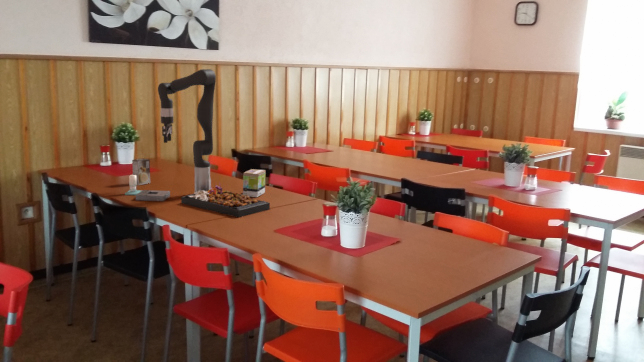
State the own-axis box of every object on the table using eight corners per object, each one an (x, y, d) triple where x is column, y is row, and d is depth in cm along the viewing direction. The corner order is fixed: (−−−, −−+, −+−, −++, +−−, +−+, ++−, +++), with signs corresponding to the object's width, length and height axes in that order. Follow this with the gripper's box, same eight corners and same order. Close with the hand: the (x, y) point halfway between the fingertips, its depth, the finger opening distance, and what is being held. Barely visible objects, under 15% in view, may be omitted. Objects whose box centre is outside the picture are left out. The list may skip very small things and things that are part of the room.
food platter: (181, 204, 325) (181, 186, 323) (213, 197, 345) (213, 180, 343) (238, 218, 299) (238, 199, 297) (269, 210, 319) (269, 192, 317)
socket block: (170, 195, 343) (169, 190, 342) (163, 201, 329) (163, 196, 328) (143, 194, 343) (143, 190, 342) (135, 200, 329) (135, 195, 328)
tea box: (258, 197, 346) (258, 173, 343) (242, 196, 348) (242, 172, 345) (265, 192, 361) (265, 169, 358) (250, 191, 363) (250, 168, 360)
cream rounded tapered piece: (131, 190, 348) (131, 174, 346) (138, 191, 347) (137, 175, 345) (128, 192, 344) (127, 175, 342) (134, 192, 343) (134, 176, 341)
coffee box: (144, 182, 379) (144, 158, 376) (150, 183, 376) (150, 159, 373) (132, 184, 372) (132, 159, 369) (138, 185, 368) (138, 160, 365)
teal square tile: (144, 192, 350) (144, 190, 350) (140, 195, 341) (139, 193, 341) (129, 191, 350) (129, 190, 350) (124, 194, 341) (124, 193, 341)
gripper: (164, 114, 359) (164, 140, 362) (157, 116, 345) (158, 143, 348) (176, 114, 359) (176, 140, 362) (170, 116, 345) (170, 143, 348)
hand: (167, 141), depth 355 cm, fingers open, 8 cm apart
